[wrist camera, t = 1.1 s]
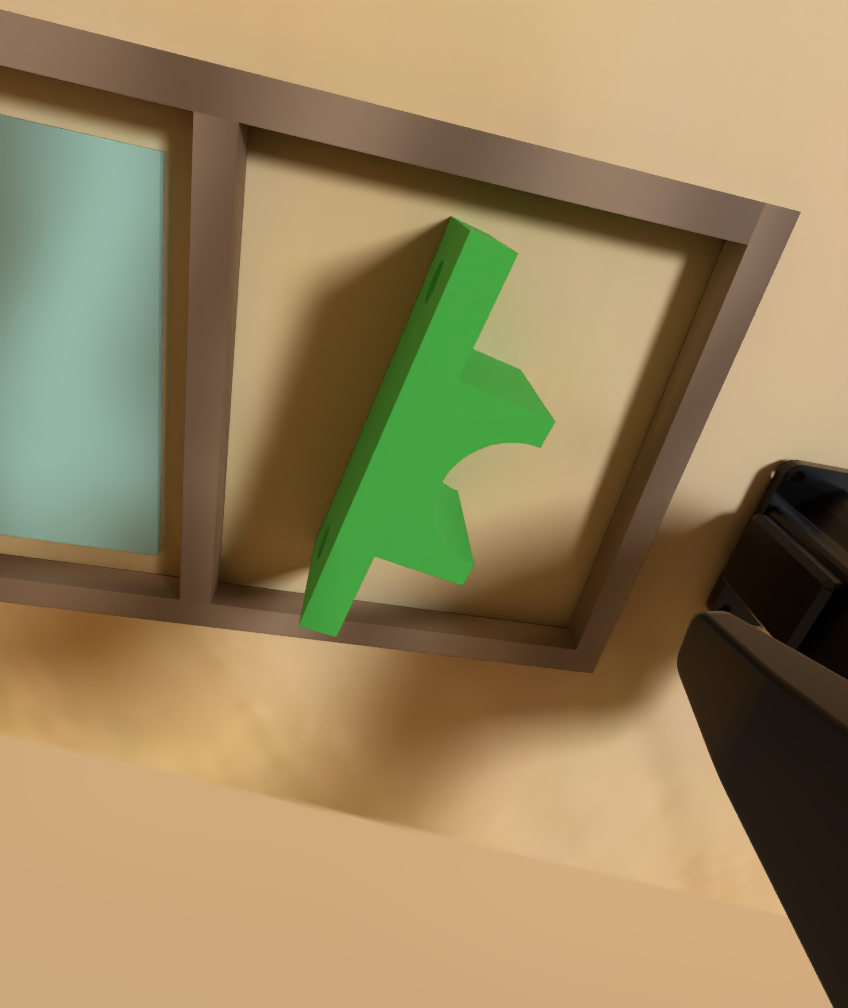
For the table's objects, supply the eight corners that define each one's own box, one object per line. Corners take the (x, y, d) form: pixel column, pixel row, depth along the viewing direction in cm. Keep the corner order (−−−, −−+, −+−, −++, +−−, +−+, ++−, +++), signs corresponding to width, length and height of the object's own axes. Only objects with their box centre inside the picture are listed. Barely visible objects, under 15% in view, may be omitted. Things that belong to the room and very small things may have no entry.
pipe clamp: (414, 572, 22) (418, 663, 18) (315, 539, 21) (297, 627, 17) (570, 272, 17) (624, 305, 13) (451, 213, 16) (470, 230, 12)
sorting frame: (774, 209, 17) (800, 211, 16) (583, 651, 24) (592, 673, 23) (-502, -113, 12) (-582, -138, 11) (-260, 544, 20) (-296, 565, 19)
